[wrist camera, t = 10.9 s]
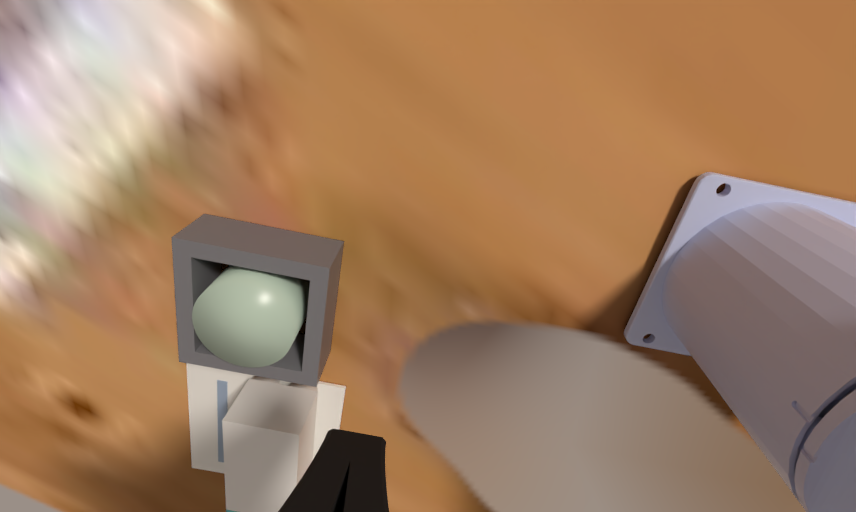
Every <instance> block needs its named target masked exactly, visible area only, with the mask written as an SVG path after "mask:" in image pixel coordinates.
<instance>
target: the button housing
mask: <svg viewBox="0 0 856 512" xmlns="http://www.w3.org/2000/svg"><path fill="white" fill-rule="evenodd" d="M343 245H344V241H340V240H335V239H329V238H324V237H319V236H314V235H309V234H304V233H299V232H294V231H289V230H284V229H279V228H274V227H269V226H264V225H259V224H254V223H249V222H244V221H238V220H233V219H228V218H223V217H218V216H213V215H208V214H203V215H202V216H201V217H199V218H198V219H196V220H195V221H194V222H192V223H191V224H189V225H188V226H187V227H185V228H184V229H183V230H181V231H180V232H178V233H177V234H176V235H174V236H173V237H172V251H173V267H174V284H175V301H176V317H177V334H178V351H179V362H184V363H189V364H195V365H200V366H205V367H211V368H216V369H222V370H227V371H232V372H238V373H243V374H249V375H254V376H259V377H265V378H270V379H276V380H281V381H286V382H292V383H297V384H303V385H308V386H313V387H317V384H318V382H319V379H320V377H321V374H322V372H323V369H324V366H325V364H326V361H327V359H328V356H329V354H330V350H331V342H332V334H333V326H334V318H335V310H336V302H337V294H338V286H339V278H340V269H341V261H342V253H343ZM221 263H223V264H228V265H233V266H238V267H244V268H249V269H254V270H259V271H264V272H269V273H275V274H280V275H285V276H290V277H295V278H300V279H306V280H310V287H309V298H308V309H307V320H306V331H305V335H303V334H297V336H296V338H295V340H294V342H293V344H292V346H291V347H290V349H289V351H288V352H287V354H286V355H285V356H284V357H283V358H282V359H280V360H279V361H278V362H276V363H274V364H271V365H268V366H264V367H256V368H251V367H242V366H238V365H234V364H231V363H229V362H226V361H224V360H222V359H221V358H219V357H217V356H216V355H214V354H213V353H212V352H211V351H209V350H208V349H207V348H206V347H205V346H204V345H203V343H202V342H201V341H200V339H199V338H198V336H197V334H196V332H195V329H194V326H193V321H192V311H193V307H194V304H195V302H196V300H197V299H198V297H199V296H200V295H201V294H202V293H203V292H204V291H205V290H206V289H207V288H208V287H209V286H210V285H211V284H212V283H213V281H214V280H215V279H216V278H217V277H218V276H219V275H220V274H221Z"/></svg>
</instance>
